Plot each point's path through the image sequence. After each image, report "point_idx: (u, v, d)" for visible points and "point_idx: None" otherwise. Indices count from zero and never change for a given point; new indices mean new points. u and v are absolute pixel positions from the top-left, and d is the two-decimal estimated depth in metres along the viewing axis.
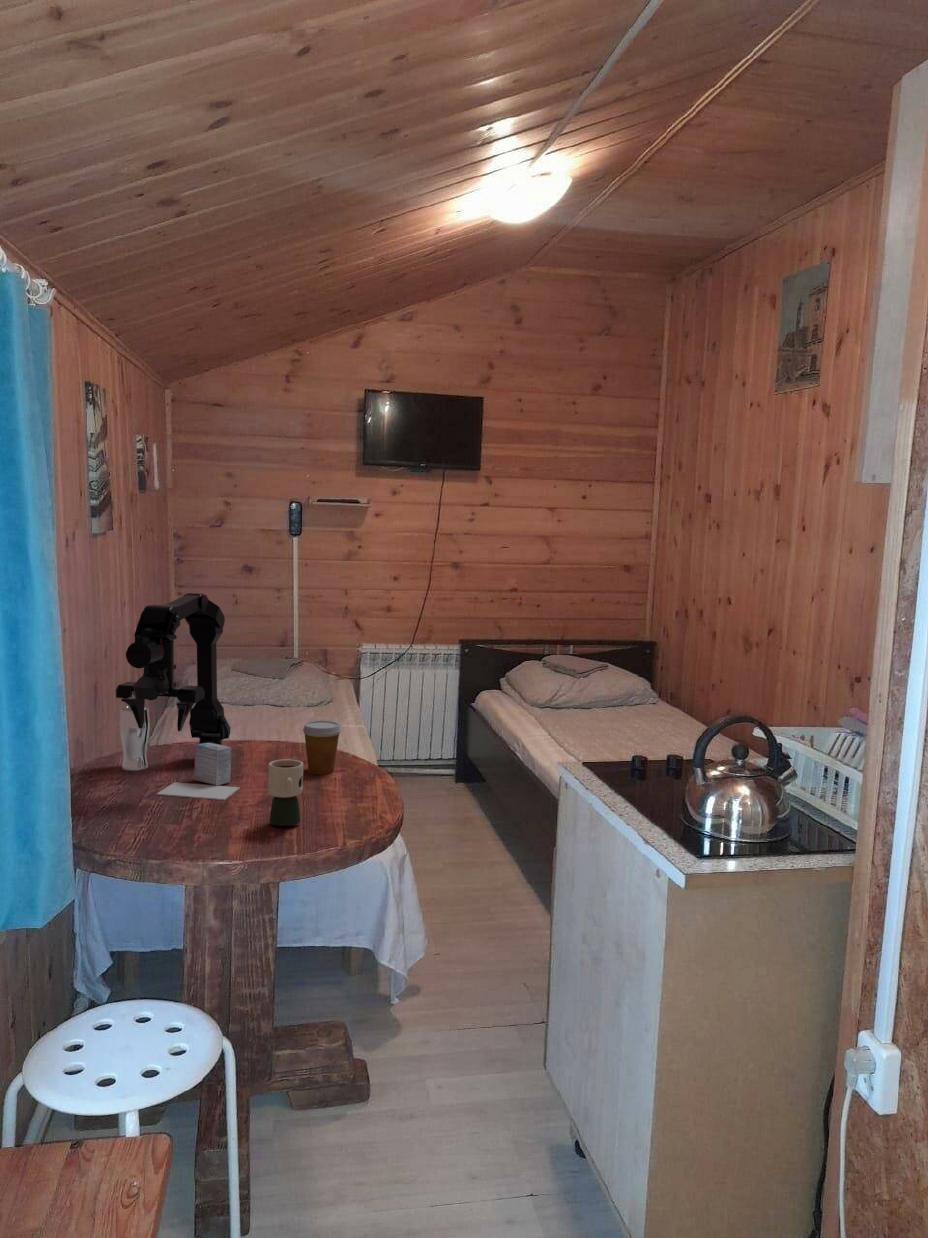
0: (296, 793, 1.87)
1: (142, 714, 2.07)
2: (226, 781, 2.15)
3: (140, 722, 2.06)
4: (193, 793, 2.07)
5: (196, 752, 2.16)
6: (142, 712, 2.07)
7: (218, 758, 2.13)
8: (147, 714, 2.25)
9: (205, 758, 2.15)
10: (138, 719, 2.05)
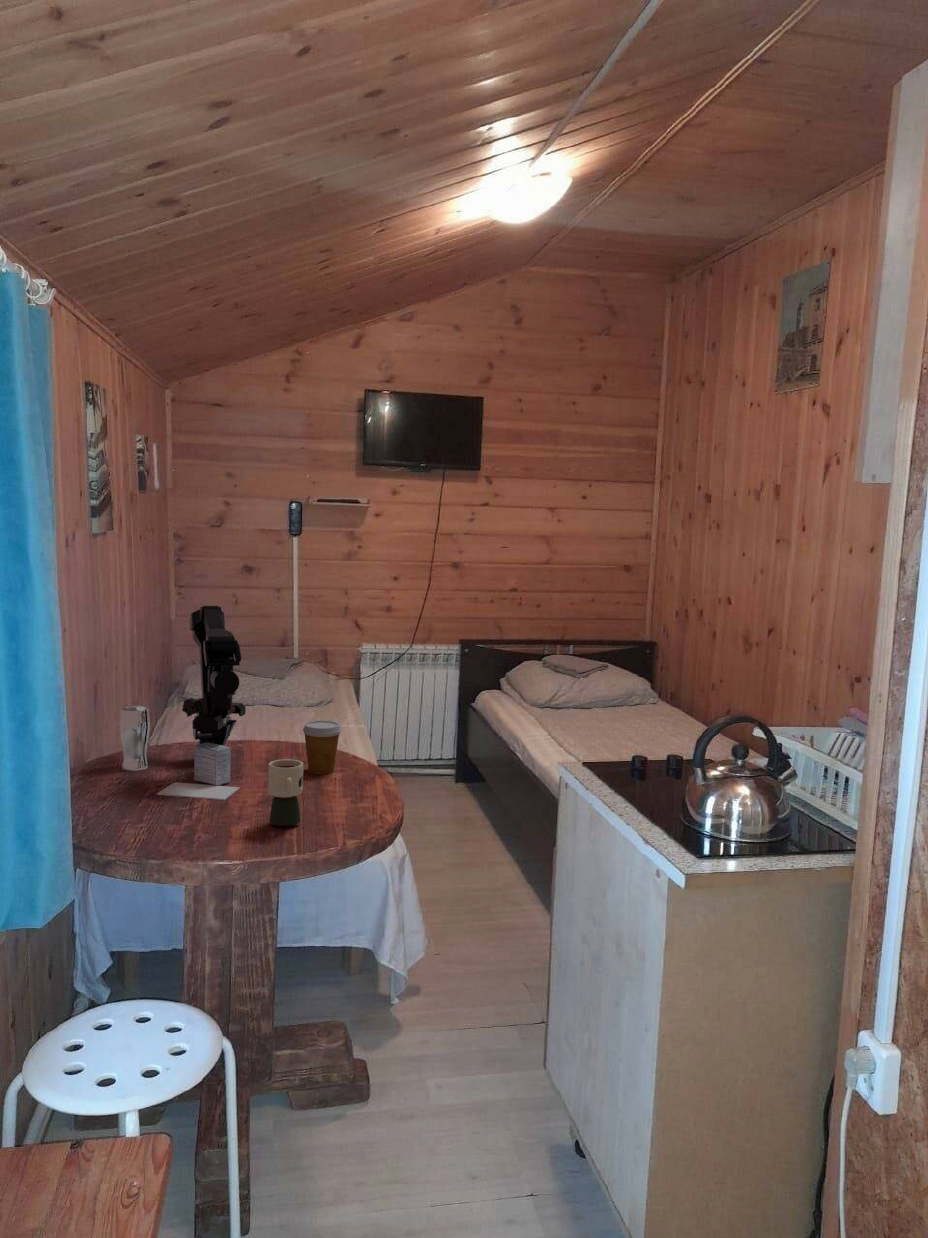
0: (296, 793, 1.87)
1: None
2: (226, 781, 2.15)
3: None
4: (193, 793, 2.07)
5: (195, 752, 2.16)
6: None
7: (217, 758, 2.13)
8: (147, 714, 2.25)
9: (204, 759, 2.15)
10: None
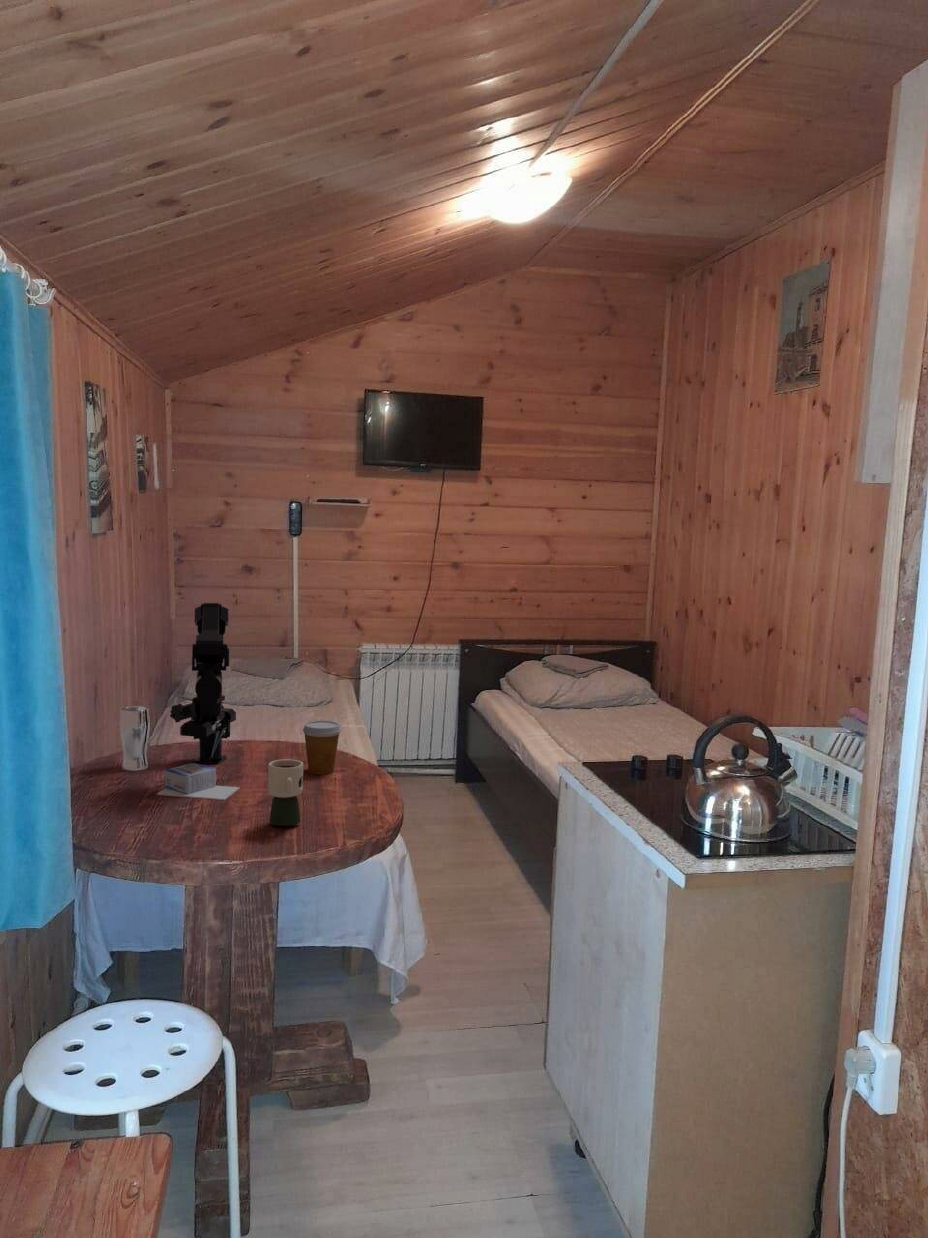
0: (296, 793, 1.87)
1: None
2: (214, 774, 2.12)
3: None
4: (193, 793, 2.07)
5: None
6: None
7: (194, 791, 2.07)
8: (147, 714, 2.25)
9: None
10: None
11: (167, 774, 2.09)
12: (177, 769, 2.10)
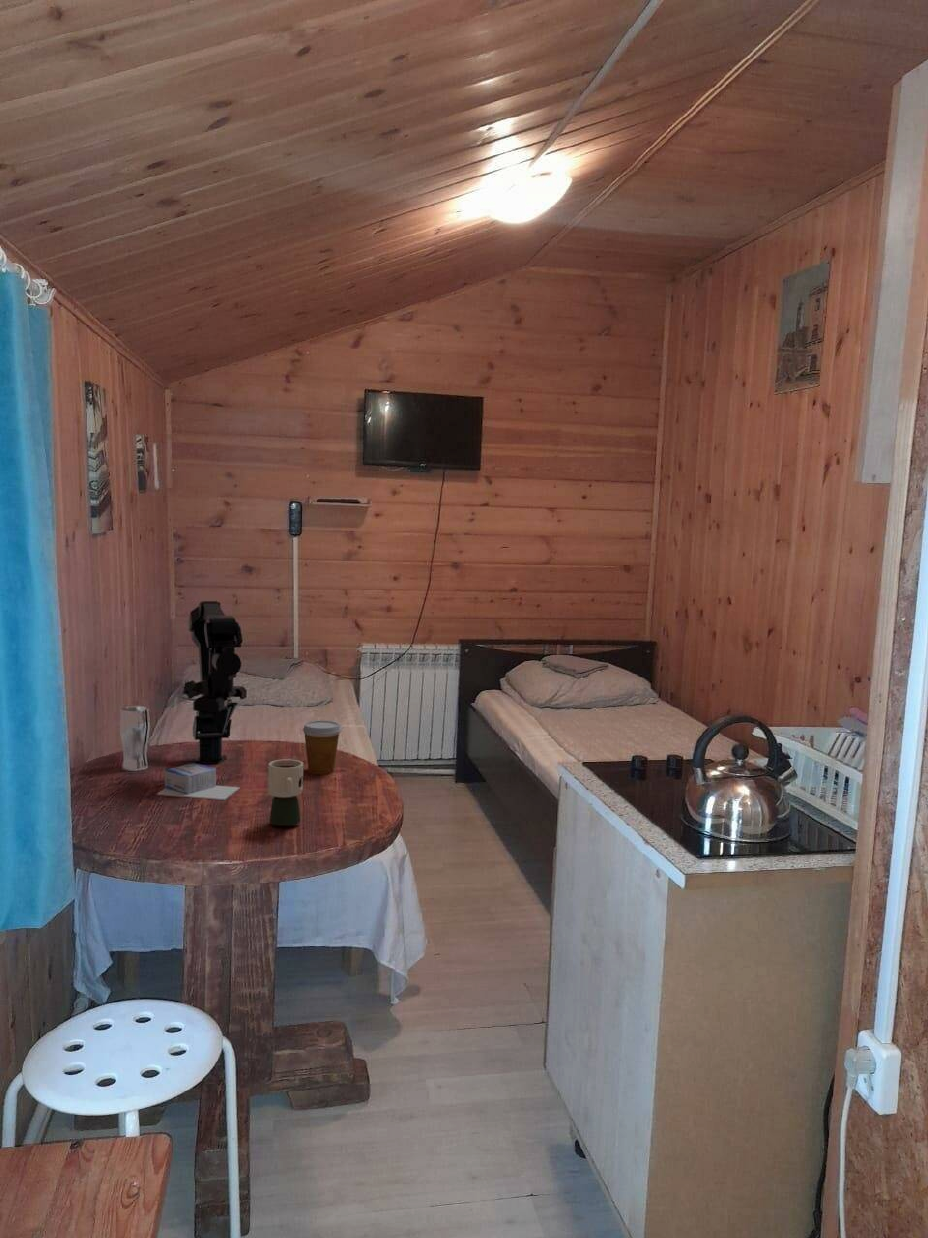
0: (296, 793, 1.87)
1: None
2: (214, 774, 2.12)
3: None
4: (193, 793, 2.07)
5: None
6: None
7: (194, 791, 2.07)
8: (147, 714, 2.25)
9: None
10: None
11: (167, 774, 2.09)
12: (177, 769, 2.10)
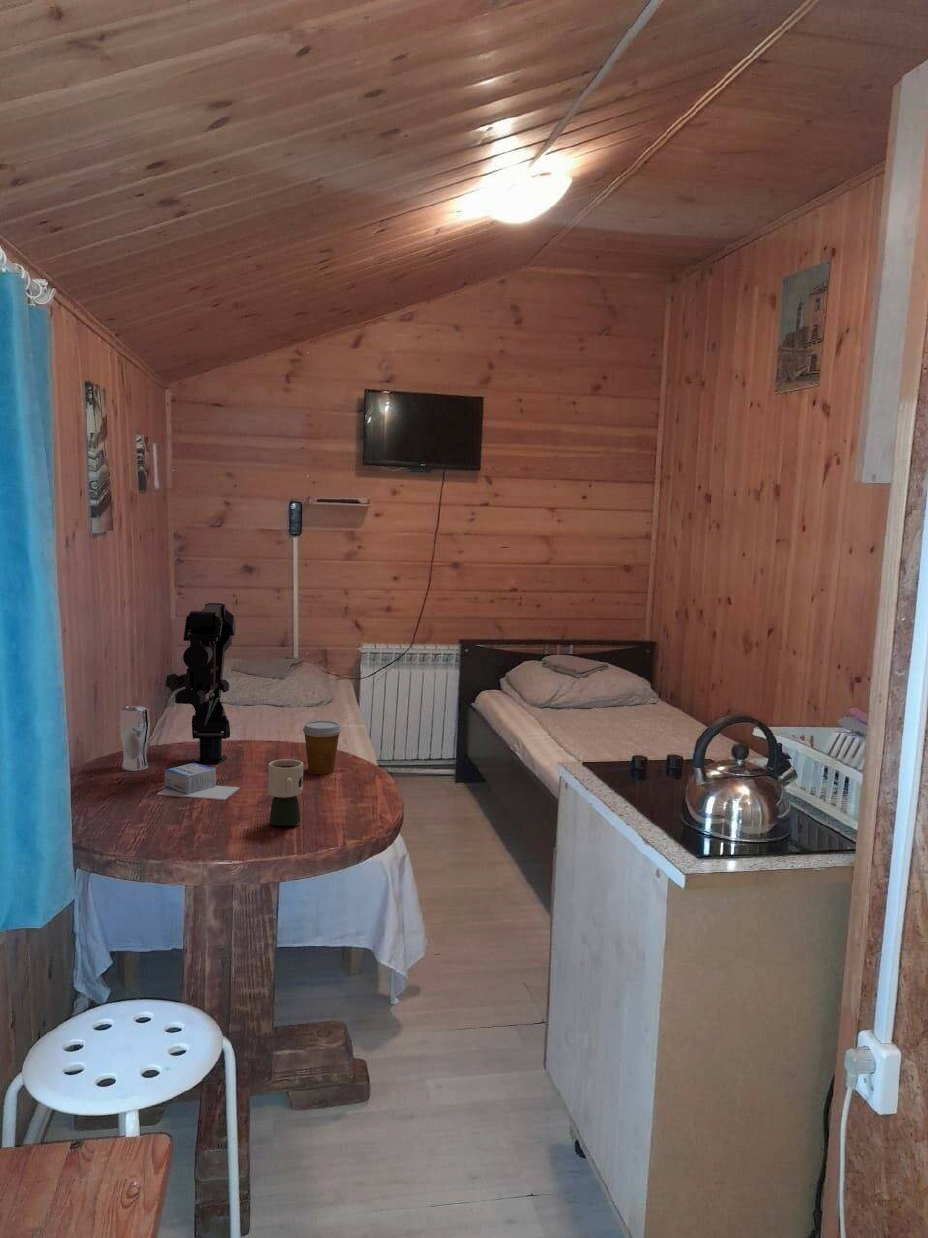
0: (296, 793, 1.87)
1: None
2: (214, 774, 2.12)
3: None
4: (193, 793, 2.07)
5: None
6: None
7: (194, 791, 2.07)
8: (147, 714, 2.25)
9: None
10: None
11: (167, 774, 2.09)
12: (177, 769, 2.10)
